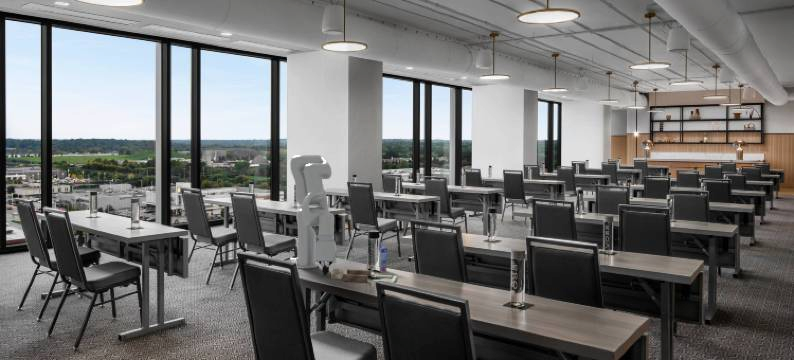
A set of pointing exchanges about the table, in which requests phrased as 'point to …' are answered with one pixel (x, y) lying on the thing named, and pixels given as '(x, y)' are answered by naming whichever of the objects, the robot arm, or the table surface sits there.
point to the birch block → (337, 274)
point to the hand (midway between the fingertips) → (325, 274)
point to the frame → (386, 277)
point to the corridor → (357, 275)
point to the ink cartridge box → (381, 258)
